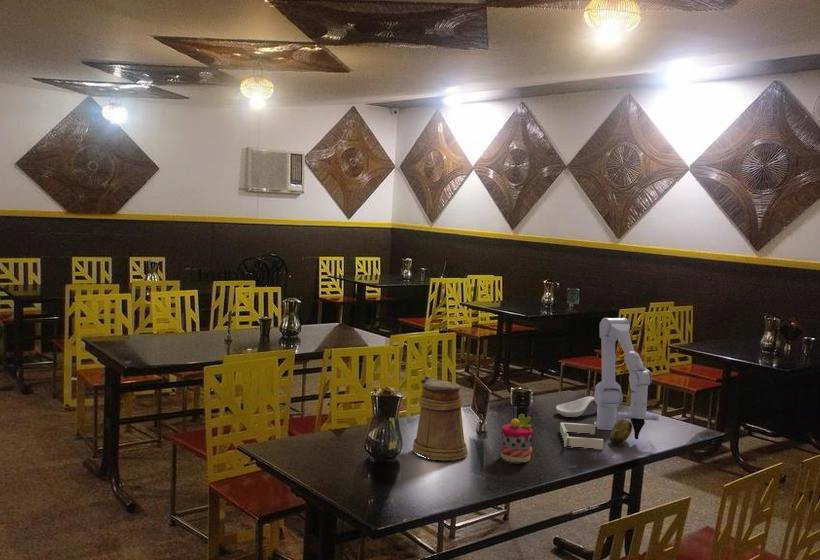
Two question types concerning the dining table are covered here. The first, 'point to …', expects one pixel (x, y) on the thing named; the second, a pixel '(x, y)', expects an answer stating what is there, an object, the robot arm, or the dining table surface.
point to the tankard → (440, 421)
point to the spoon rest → (574, 407)
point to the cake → (517, 440)
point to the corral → (577, 440)
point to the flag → (565, 438)
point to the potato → (620, 432)
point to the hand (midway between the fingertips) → (636, 438)
